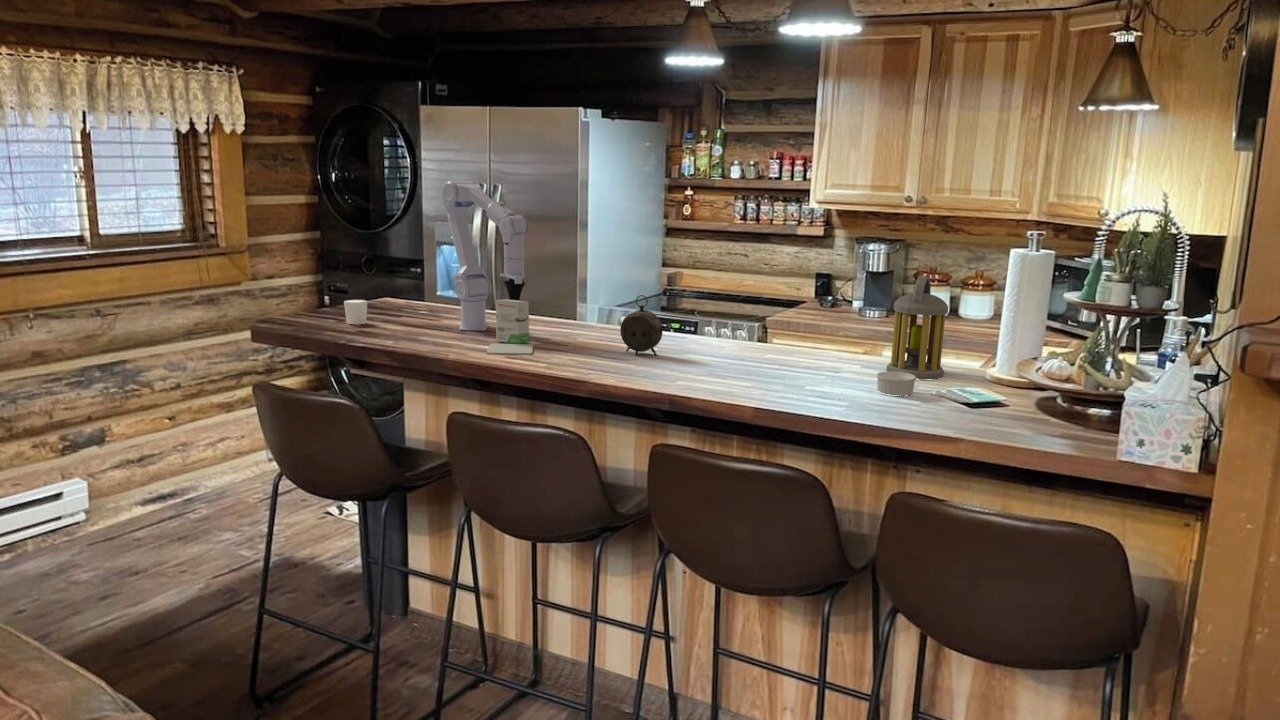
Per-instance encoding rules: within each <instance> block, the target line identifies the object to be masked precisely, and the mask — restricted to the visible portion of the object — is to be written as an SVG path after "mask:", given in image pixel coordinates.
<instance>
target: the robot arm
mask: <svg viewBox="0 0 1280 720" xmlns="http://www.w3.org/2000/svg"><path fill="white" fill-rule="evenodd" d="M441 197H442V201H443V204H444V209H445V211H446V215H447V220H448V223H449V229H450V232H451V236H452V240H453V246H454V249H455V254H456V258H457V261H458V266H459V270H458V271H457V272H456V274H455V275H454V276H453V279H454V292H455V295H456V296H457V298H458V300H459V301H460V315H461V316H460V318H461V319H460V320H461V324H460V326H459V328H458V331H487V329H488V326H489V323H486V300H487V299H488V296H490V293H491V292H492V284H491V280H490V279H489V277H488V275H487V271H486V270H485V269H483V268H482V267H481V266H479V265H478V262H477V256H476V253H475V250H474V249H475V248H474V244H473V240H472V236H471V231H470V228H469V223H468V220H467V219H468V218H467V214H468V212H470V211H471V210H472V209H473V207H474V206H475V205H476V206H478V207H479V208H481V209H482V210H484V211H485V212H486V217H487V218H488V219H489V220H490V221H492V223H494V224H495V225H496V226H497V227H498V228H499V232H500V234H501V240H502V242H503V272H502V273H499V276H500V277H504V278H508V280H503V284H504V286H505V289H506V291H507V296H508V300H518V301H521V300H520V299H521V295H522V291H523V288H524V286H525V284H526V282H525V281H524V279H523V278H525V276H526V274H525V235H527V234H528V231H529V221H528V219H527V218H526V216H525V215H523V214H516V213H515V212H514V211H513V210H511V209H510V208H508V207H507V206H506V205H505V203H504V202H503V201H495V200H492V199H491V198H490V197H489V196H488V195H487V194H486V193H485V192H484V191H483V190H482V186H481V185H480V184H479V183H478V182H477V181H476V180H470V181H468V180H467V181H465V180H464V181H459V180H458V181H453V180H452V181H451V180H447V181H446V182H445V183H444V185H443V188H442V190H441Z"/></svg>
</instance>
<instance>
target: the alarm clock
mask: <svg viewBox="0 0 1280 720" xmlns="http://www.w3.org/2000/svg"><path fill="white" fill-rule="evenodd" d="M640 297H643V298H645V300H646V303H645V305H643V304H641V305H639V303H638V299H639V298H640ZM648 302H649V301H648V298H647V296H645V295H643V294H640V295H638V296H636V298H635V304H636V306H637V307H639V309H638V310H637V309H636V310H635V311H633V312H631V313H629V314H627V315H626V316H625V317H624V318H623V320H622V321H621V324H620V336H621V339H622V341H623V343H624V345H626V347H627V348H626V350H625V352H626V353H627V352H629V350H632V351H635V356H638V355H639V352H641V353H643V352H647V351H649V350H651V352H652V353H653V355H654V356H657V352H656V350H655V347H657V345H659V343H660V341H661V339H662V336H663V325H662V322H661V320H660V318H659V317H658V316H657V315H656V314H655V313H654V312H652V311H651V310H647V309H644V308H645V307H646V306H647V305H648Z"/></svg>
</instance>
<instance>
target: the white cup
mask: <svg viewBox="0 0 1280 720" xmlns="http://www.w3.org/2000/svg"><path fill="white" fill-rule="evenodd" d="M343 305H344V312H345V320H346V324H347V323H348V324H364V325H366V324H367V316H368V315H367V313H368V300H366V299H346V300H344V301H343ZM365 323H366V324H365ZM348 324H347V325H348Z"/></svg>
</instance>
